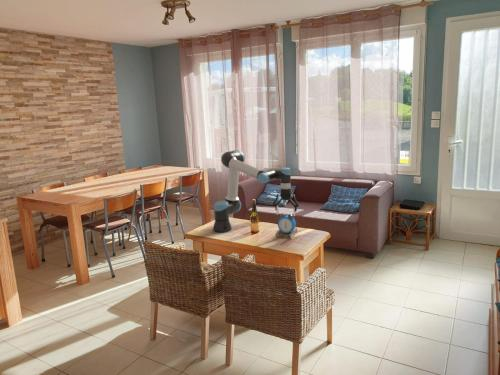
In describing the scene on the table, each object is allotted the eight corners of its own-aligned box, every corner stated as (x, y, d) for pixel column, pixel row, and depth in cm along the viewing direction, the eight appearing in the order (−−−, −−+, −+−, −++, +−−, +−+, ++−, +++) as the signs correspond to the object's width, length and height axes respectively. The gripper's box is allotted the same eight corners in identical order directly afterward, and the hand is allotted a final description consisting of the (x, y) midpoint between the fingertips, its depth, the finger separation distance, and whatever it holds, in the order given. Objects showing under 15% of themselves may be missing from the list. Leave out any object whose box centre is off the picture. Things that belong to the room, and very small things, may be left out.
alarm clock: (277, 232, 315) (277, 214, 312) (280, 230, 320) (280, 212, 317) (293, 234, 309) (293, 215, 306) (296, 232, 314) (296, 213, 311)
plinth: (275, 237, 309) (275, 233, 309) (282, 230, 326) (282, 226, 325) (291, 239, 305) (291, 234, 304) (297, 232, 321) (297, 227, 321)
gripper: (268, 188, 309) (269, 215, 313) (300, 189, 300) (300, 217, 304) (271, 186, 316) (272, 212, 320) (302, 187, 307) (302, 214, 311)
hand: (285, 215), depth 312 cm, fingers open, 13 cm apart
